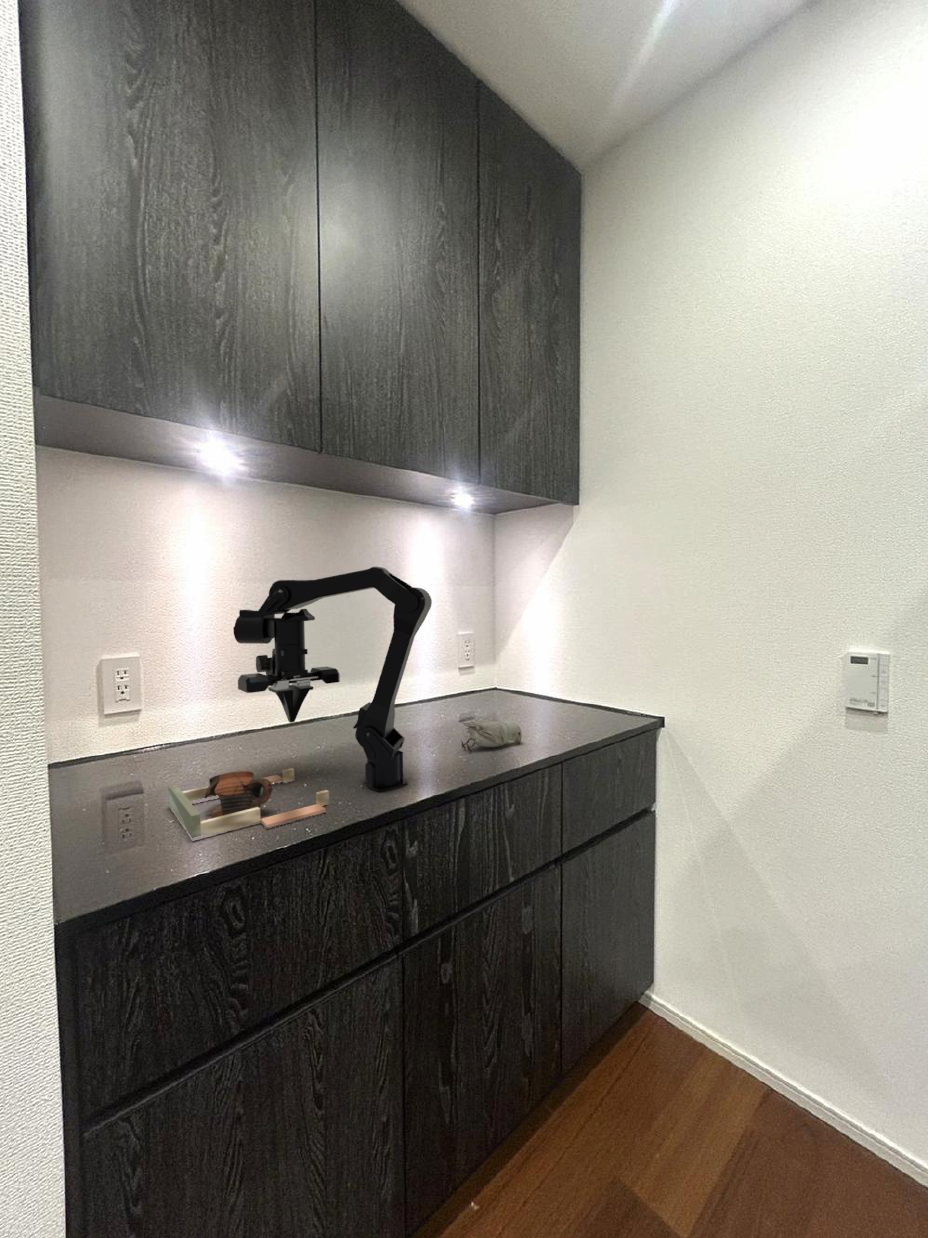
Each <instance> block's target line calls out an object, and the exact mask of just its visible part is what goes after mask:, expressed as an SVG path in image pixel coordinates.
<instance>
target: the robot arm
mask: <svg viewBox="0 0 928 1238" xmlns="http://www.w3.org/2000/svg"><path fill="white" fill-rule="evenodd" d="M371 589H375V590H376V591H377V592H379V593H380V594H381V595H382V596H383V597H385V599H387V600H388V601H389V602H391V603H392V604H394V608H393V617H392V618H393V630H392V631H393V632H392V635H391V639H390V642H389V646H388V649H387V652H386V656H385V658H384V662H383V665H382V669H381V673H380V675H379V679H378V681H377V686H376V688H375V689H376V690H375V691H374V695H373V699H372V700H371V702H370V701H369V702H367V703H365V704H364V705H363V706H361V707H360V708H359V709H358V715H357V720H356V723H355V724H354V725H353V729H354V730H355V729H356V730H355V733H354V735H355V740H356V741H357V743H358V744H359V746H361V747H362V749H363V751H364V754H365V758H366V759H367V760H366V761H367V762H366V763H365V764H364V766H365V771H364V772H365V774H364V775H365V780H363V784H364V785H366V786H367V787H369V788H371V789H373V790H375V791H377V792H378V793H382V792H386V791H391V790H393V789H394V790H395V789H396V788H401V787H405V786H408V785H409V782H408V781H407V780H404V752H403V751H401V750H400V749H402V747H403V745H404V741H405V737H404V736H403V734H401V733H400V732H399V731H398V730H397V729H396V728H395V726H394V725H395V717H396V709H395V706H396V704H395V702H396V699H397V695H398V692H399V689H400V686H401V683H402V679H403V676H404V674H405V673H404V672H405V670H406V666H407V664H408V660H409V656H410V653H411V650H412V647H413V644H414V643H413V642H414V640H415V637H416V636H417V633H418V632H419V630H420V628H421V626H422V625H423V623H424V621H425V620H426V617H427V615H428V614H429V613H430V610H431V608H432V604H433V603H432V602H433V600H432V598H431V595H430V593H429V592H428V591H427V590H426V589H424V588H422V587H413V586H412V585H410V584H409V583H407V582H405V581H404V580H402V579H400V578H399V577H398V576H396V575H395V574H393V573H391V572H389V570H388V569H387V568H384V567H381V566H372V567H370V568H367V569H362V570H356V571H351V572H348V573H347V572H346V573H342V574H338V575H332V576H328V577H327V576H326V577H321V578H317V579H280V580H276V581H275V582H273V583H272V584H271V586H270V588H269V590H268V595H267V597H266V598H265V600H264V601H263V603H262V605H261V606H260V607H259V608H258V610H253V609H239V611H238V612H239V613H238V614H239V616H238V617H237V618H236V620H235V623H234V626H233V627H232V628H233V636H234V639H235V641H236V643H238V644H243V645H244V644H245V645H246V644H251V645H252V644H259V645H260V644H267V645H268V644H269V643H271V641H272V640H273V639H274V648H272V651H271V657H268V655H267V654H262V655H261V654H260V655H257V656H255V667H256V668H255V669H256V672H257V673H248V674H247V673H246V674H240V676H239V677H238V679H237V689H238V691H242V692H244V693H247V694H253V693H260V692H265V691H266V690H267V689H268V691H269V692H272V693H274V694H275V695H276V696H277V697H278V699H279V701H280V703H281V706H282V708H283V710H284V711H283V712H285V713H284V714H285V715H286V718H287V721H288V722H289V723H295V722H296V719H297V717H298V715H299V712H300V709H301V707H302V705H303V703H304V701H305V699H306V697H307V695H308V694H309V691H312V690H314V686H313V685H311V683H312V682H314V681H316V682H317V681H322V682H324V684H328V685H329V684H335V683H340V672H339V670H338V669H337V668H335V667H331V666H318V667H312V668H311V669H310V671H309V670H308V669H307V668H306V655H308V648H306V635H305V622H308V621H309V622H310V621H314V620H315V619H316V617H315V616H314V615H313V614H311V612H309V610H308V609H307V608H304V607H306V606H309V605H311V604H314V603H316V602H318V601H319V600H323V599H324V598H331V597H335V596H341V595H345V594H350V593H355V592H356V593H357V592H362V591H366V590H371ZM297 609H298V610H299V609H300V610H299V611H297V612H289V611H291V610H297ZM281 614H282V616H281V617H276V616H275V615H281ZM263 673H265V674H263Z"/></svg>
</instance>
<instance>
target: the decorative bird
mask: <svg viewBox="0 0 928 1238" xmlns="http://www.w3.org/2000/svg"><path fill="white" fill-rule="evenodd" d="M462 725H464V726H466V727H467V728H468V733H469V736H470V737H469V738H468V739H467V742H464V741H461V749H464V750H467V752H470V754H472V753H473V752H472V751H473V750H472V749H471V748H473V747H474V746H475V745H477V746H479V747H483V748H498V747H501V746H503V745H505V744H507V743H509V742H510V741H513V742H515V743H516V744H518V745H519V744H521V742H522V737H523V735H522V730H521V727H520V725H518V723H517V722H515V721H512V720H507V721H500V720H499V721H498V720H497V721H495V720H493V721H492V720H489V721H482V722H481V721H469V722H468V721H462ZM470 741H472V742H473V744H472V745H470V746H469V744H468V743H469V742H470ZM465 745H467V746H465Z"/></svg>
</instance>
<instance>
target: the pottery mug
mask: <svg viewBox="0 0 928 1238" xmlns="http://www.w3.org/2000/svg"><path fill="white" fill-rule="evenodd" d="M264 778H265V777H260V778H259V777H258V778H256V780H255V773H254V772H253V771H250V770H237V771H228V772H225V773H221V774H217V775H214V776H212V777H210V778H209V779H208V781H209V782H208V783H209V784H208V786H209V787H208V788H207V789H206V792H205V797H204V798H207V797H208V796H209V795H213V796H216V795H218V796H219V798H220V799H219V801H220V805H221V807H219V808H216V809H214V810H211V812H210V813H211V814H210V815H211V817H212V818H216V817H220V816H224V815H228V814H232V813H236V812H240V811H244V810H248V809H252V808H256V807H259V808H260V809H261V806H262V805H264V804H265V803H267V802H268V801H269V799H270V798H271V796H272V793H273V790H274V789H273V788H274V787H273V785H272V784H271V782H270V781H269V780H268V779H264ZM212 818H211V819H212Z"/></svg>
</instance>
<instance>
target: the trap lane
mask: <svg viewBox="0 0 928 1238" xmlns="http://www.w3.org/2000/svg"><path fill="white" fill-rule="evenodd" d="M281 774H282V777H281V776H279V775H278V774H274V775H269V776H265V777H263V778H264V779H268V780H269V781H270V782H278V781H284V782H287V781H291V780H294V781H295V768H293V767H291V768H286V769H282V773H281ZM254 779H255V778H254ZM256 779H257V778H256ZM256 779H255V780H256ZM208 787H209V785H207V786H203V787H197V788H192V789H188V790H183V791H182V790H181V788H180V787H179V786H178V785H177V784H173V785H168V806H169V805H170V806H171V808H173V810H174V811H175V813H176V815H177V816H178V818H179V820H180V821H181V822H182V824H183V825H184V826H185V828H186V830H187V831H188V833H189V834H190V835H191V837H192V838H194V837H197V836H201V835H207V834H212V833H216V832H220V831H224V830H229V829H233V828H237V827H240V826H245V825H248V824H252V823H256V822H259V821H261V822H262V823H263V824H264V825H265V826H266V827H270V826H274V825H278V824H282V823H285V822H288V821H295V820H298V819H302V818H305V817H308V816H312V815H316V814H319V813H322V812H326V813H327V811H326V810H327V809H326V808H325V807H322V806H324V805H328V804H329V805H330V791H329V790H327V789H325V790H321V791H317V792H315V804H312V805H309V806H305V807H301V808H300V807H299V808H298V809H293V810H290V811H285V812H282V813H278V814H275V815H270V816H267V817H263V818H261V807H260V808H259V807H256V808H252V807H251V809H248V810H244V811H240V812H236V813H232V814H228V815H224V816H220V817H216V818H209V819H205V820H201V813H200V812H199V811H198V809H196V806H194V805H192V803H191V802H190V801H193V800H198V799H202V798H204V797H205V792H206V789H207V788H208ZM212 796H213V795H209V796H208V797H212Z"/></svg>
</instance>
